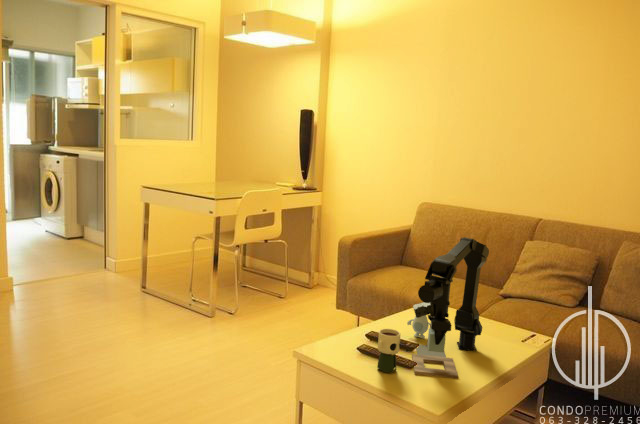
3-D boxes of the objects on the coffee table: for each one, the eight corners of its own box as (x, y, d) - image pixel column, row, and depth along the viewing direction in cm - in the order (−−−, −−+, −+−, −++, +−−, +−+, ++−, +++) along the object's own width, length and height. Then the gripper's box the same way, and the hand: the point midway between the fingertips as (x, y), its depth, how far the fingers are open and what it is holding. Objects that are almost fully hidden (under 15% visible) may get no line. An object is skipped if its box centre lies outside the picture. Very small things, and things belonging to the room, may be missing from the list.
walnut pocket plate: (411, 356, 191) (412, 354, 191) (452, 360, 189) (452, 358, 189) (414, 373, 177) (414, 371, 177) (457, 378, 176) (458, 375, 176)
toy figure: (403, 336, 210) (406, 306, 208) (408, 331, 215) (411, 302, 213) (430, 342, 205) (433, 312, 203) (434, 337, 210) (437, 307, 209)
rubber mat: (415, 345, 201) (415, 344, 201) (442, 348, 200) (443, 346, 200) (417, 356, 192) (417, 354, 192) (446, 359, 191) (446, 357, 191)
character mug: (386, 378, 173) (389, 339, 171) (368, 371, 177) (371, 333, 175) (404, 368, 181) (407, 331, 179) (386, 361, 185) (389, 325, 183)
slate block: (427, 345, 185) (428, 328, 184) (442, 346, 184) (443, 329, 184) (428, 351, 180) (430, 333, 179) (443, 352, 179) (445, 335, 179)
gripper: (414, 286, 190) (410, 329, 192) (417, 303, 171) (413, 350, 173) (446, 289, 188) (442, 332, 191) (453, 306, 170) (449, 353, 172)
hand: (436, 341), depth 182 cm, fingers closed on slate block, 5 cm apart
